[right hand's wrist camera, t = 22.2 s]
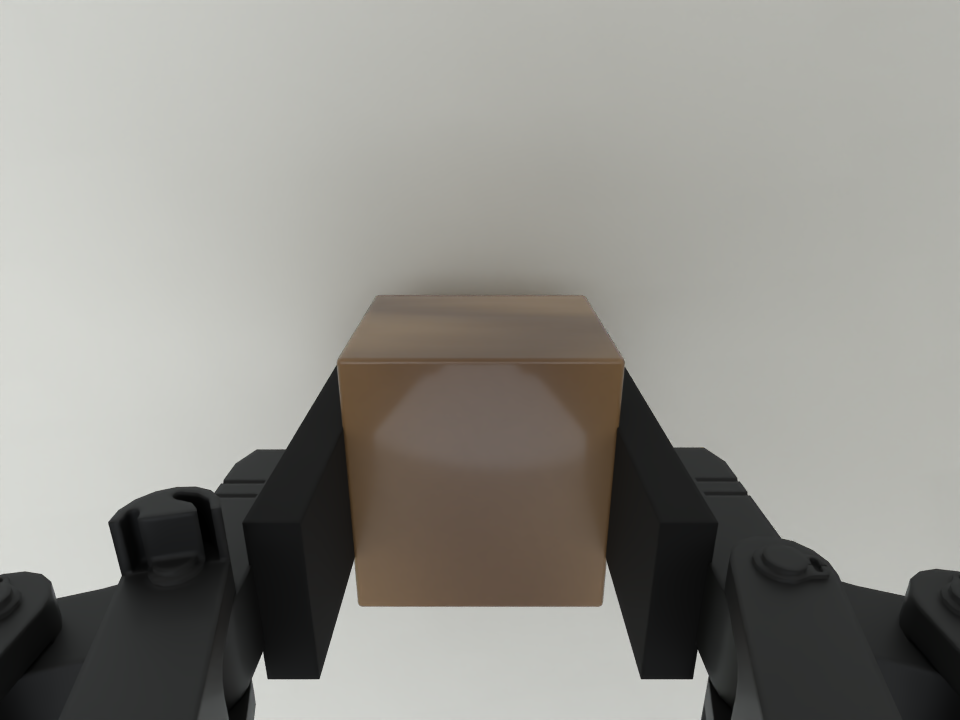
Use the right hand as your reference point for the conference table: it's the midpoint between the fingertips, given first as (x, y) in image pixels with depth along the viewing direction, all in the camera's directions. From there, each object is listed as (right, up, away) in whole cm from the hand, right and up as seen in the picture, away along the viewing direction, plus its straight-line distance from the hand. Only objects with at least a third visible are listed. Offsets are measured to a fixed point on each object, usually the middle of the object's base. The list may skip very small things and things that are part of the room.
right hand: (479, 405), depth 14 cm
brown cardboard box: (0, 0, 0) cm, 0 cm away
